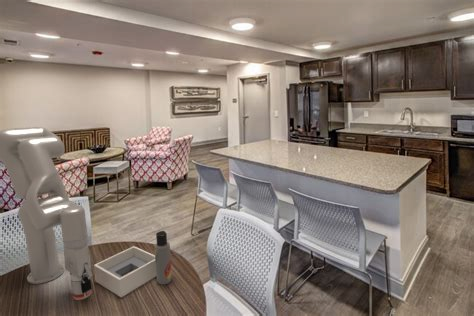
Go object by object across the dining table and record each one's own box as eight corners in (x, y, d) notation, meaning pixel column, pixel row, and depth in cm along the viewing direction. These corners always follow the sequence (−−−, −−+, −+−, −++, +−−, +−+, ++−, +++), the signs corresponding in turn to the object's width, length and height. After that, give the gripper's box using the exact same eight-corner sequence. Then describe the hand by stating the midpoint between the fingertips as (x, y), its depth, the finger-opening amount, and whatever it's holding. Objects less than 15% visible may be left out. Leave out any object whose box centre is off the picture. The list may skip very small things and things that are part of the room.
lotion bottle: (174, 278, 114) (172, 230, 110) (165, 286, 108) (162, 237, 105) (163, 274, 116) (160, 228, 112) (153, 282, 111) (150, 234, 107)
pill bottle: (90, 287, 109) (86, 259, 106) (94, 295, 104) (90, 267, 102) (71, 294, 105) (67, 266, 103) (75, 303, 100) (71, 273, 98)
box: (95, 281, 112) (93, 265, 111) (135, 260, 127) (134, 246, 125) (121, 297, 102) (119, 279, 101) (161, 273, 117) (159, 257, 116)
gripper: (53, 239, 102) (59, 284, 106) (77, 252, 92) (83, 302, 96) (74, 231, 108) (80, 274, 112) (99, 243, 98) (105, 290, 102)
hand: (81, 287), depth 104 cm, fingers closed on pill bottle, 6 cm apart
